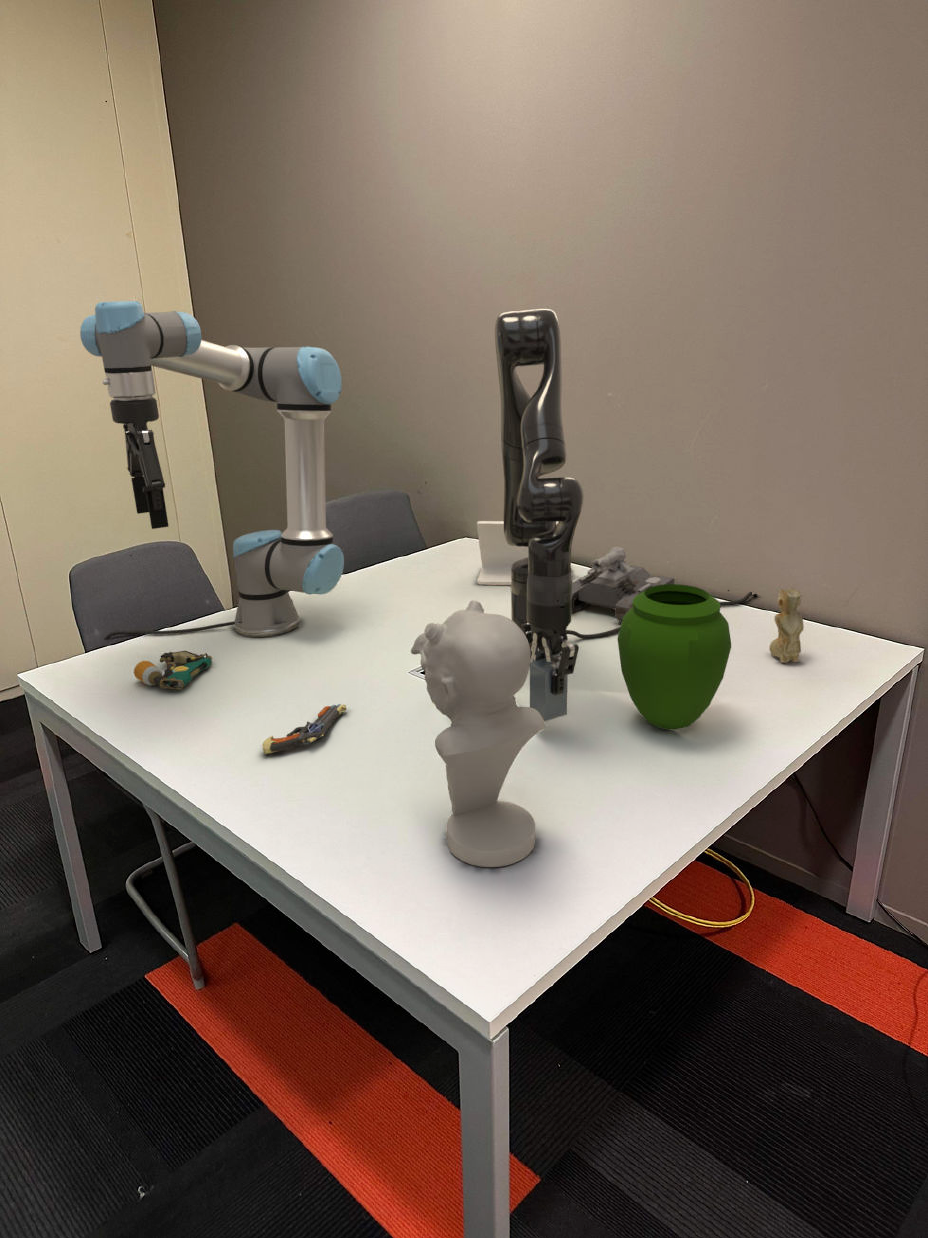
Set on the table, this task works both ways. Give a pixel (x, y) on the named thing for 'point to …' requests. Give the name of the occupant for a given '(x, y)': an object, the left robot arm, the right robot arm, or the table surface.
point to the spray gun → (172, 669)
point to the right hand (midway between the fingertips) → (548, 687)
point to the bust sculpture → (481, 729)
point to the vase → (673, 653)
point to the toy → (613, 584)
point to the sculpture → (788, 626)
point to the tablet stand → (496, 554)
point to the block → (546, 691)
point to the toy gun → (305, 731)
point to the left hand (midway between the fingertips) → (152, 519)
